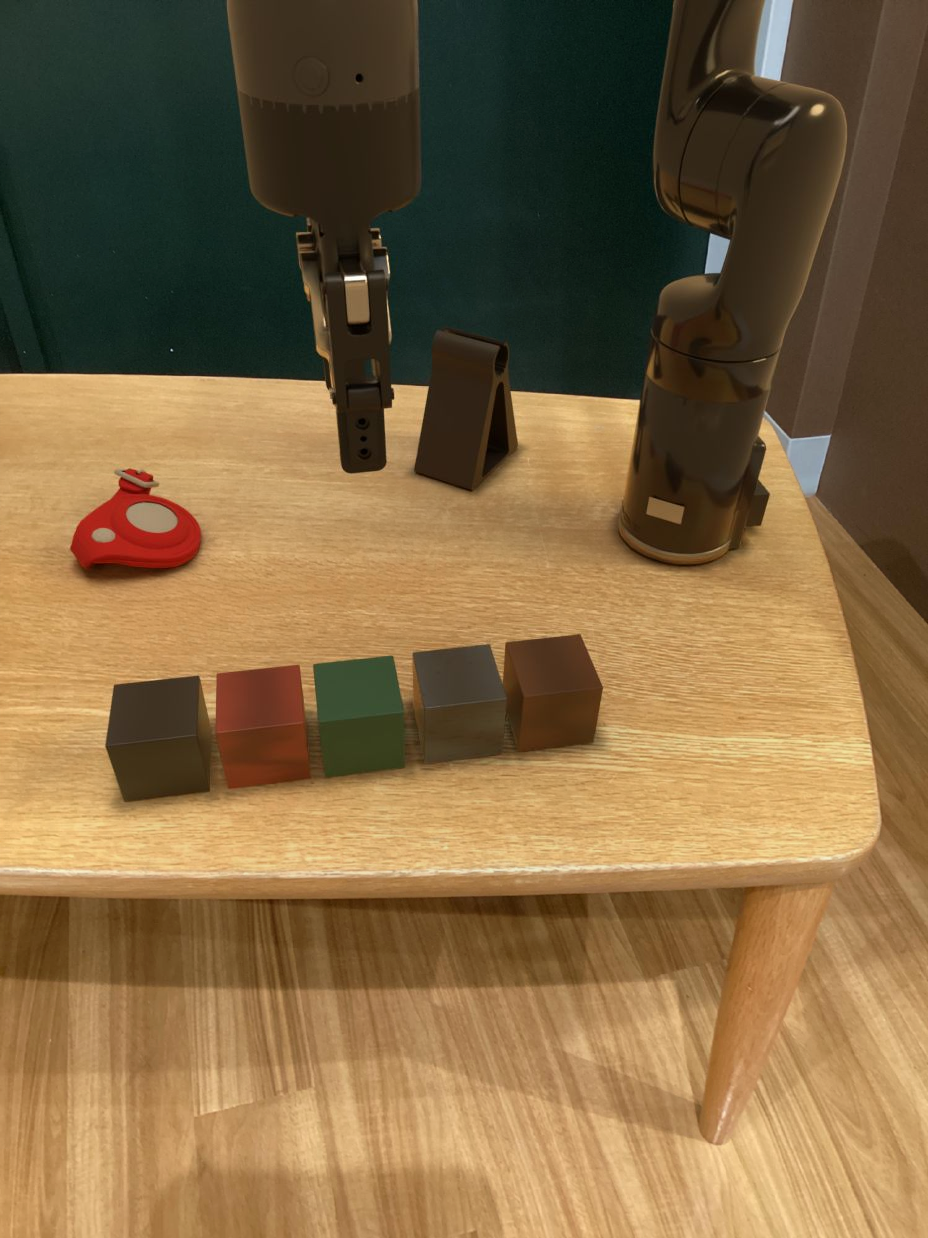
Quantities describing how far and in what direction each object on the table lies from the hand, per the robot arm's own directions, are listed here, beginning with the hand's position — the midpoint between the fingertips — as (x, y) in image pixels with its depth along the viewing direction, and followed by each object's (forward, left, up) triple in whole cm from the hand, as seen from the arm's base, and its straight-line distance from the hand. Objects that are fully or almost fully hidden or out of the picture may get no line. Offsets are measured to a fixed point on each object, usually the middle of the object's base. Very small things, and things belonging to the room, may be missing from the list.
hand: (354, 425), depth 49 cm
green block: (+1, +4, -20) cm, 21 cm away
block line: (+1, +4, -20) cm, 21 cm away
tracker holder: (+16, -21, -21) cm, 33 cm away
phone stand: (-12, -29, -21) cm, 38 cm away
